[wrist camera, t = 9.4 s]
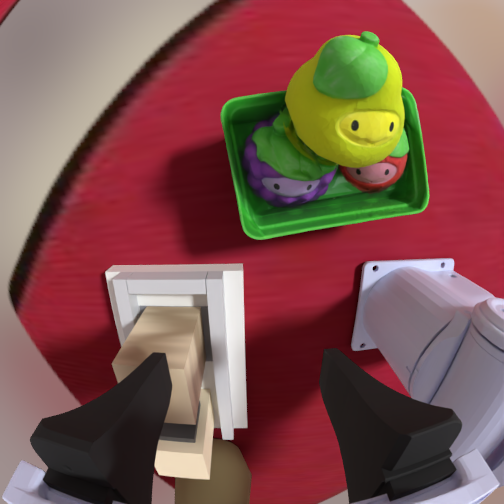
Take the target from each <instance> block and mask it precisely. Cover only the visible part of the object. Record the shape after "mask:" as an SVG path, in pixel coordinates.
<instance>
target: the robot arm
mask: <svg viewBox="0 0 504 504" xmlns="http://www.w3.org/2000/svg"><path fill="white" fill-rule="evenodd" d="M442 263H443V264H442ZM441 264H442V266H441ZM374 266H376V269H375V270H373V267H374ZM453 268H454V260H453V259H451V258H439V259H415V260H390V261H368V262H366V263H364V265H363V267H362V275H361V283H360V291H359V299H358V306H357V312H356V319H355V325H354V331H353V337H352V342H351V347H352V349H353V350H354V351H360V350H367V349H374V348H378V349H379V350H380V352H381V353H382V355H383V356H384V357H385V359H386V360H387V362H388V363H389V365H390V366H391V368H392V369H393V371H394V372H395V374H396V375H397V376H398V378H399V379H400V381H401V382H402V384H403V385H404V387H405V388H406V390H407V391H408V393H409V394H410V396H411V398H410V397H408V396H405V395H403V394H401V393H399V392H396V391H395V390H393V389H391V388H389V387H387V386H385V385H384V384H382V383H381V382H379V381H378V380H376V379H375V378H373V377H372V376H370V375H369V374H368V373H366V372H365V371H364V370H362V369H361V368H360V367H359V366H357V365H356V364H355V363H354V362H353V361H351V360H350V359H349V358H348V357H347V356H345V355H344V354H343V353H342V352H341V351H340V350H338V349H337V348H332V349H324V353H323V360H322V367H321V373H320V380H319V384H320V389H321V393H322V398H323V401H324V404H325V407H326V409H327V412H328V415H329V417H330V420H331V423H332V425H333V428H334V431H335V433H336V436H337V439H338V442H339V447H340V451H341V455H342V460H343V465H344V470H345V476H346V482H347V488H348V496H349V504H479V503H481V502H482V501H483V500H484V499H485V498H486V497H487V496H488V495H490V494H491V493H492V492H493V491H494V490H495V489H496V488H498V487H501V486H504V299H501V298H495V297H494V296H493V295H492V294H491V293H489V292H488V291H486V290H485V289H483V288H481V287H480V286H478V285H476V284H475V283H473V282H471V281H470V280H468V279H466V278H465V277H463V276H461V275H460V274H458V273H456V272H454V271H453ZM363 343H364V344H363ZM361 344H363V345H362V346H360V345H361ZM172 386H173V385H172V381H171V376H170V372H169V367H168V362H167V357H166V353H159V352H153V353H152V354H151V355H149V356H148V357H147V358H146V359H145V360H144V361H143V362H142V363H141V364H140V365H139V366H138V367H137V368H136V369H135V370H134V371H132V372H131V373H130V374H129V375H128V376H127V377H126V378H124V379H123V380H122V381H121V382H119V383H118V384H117V385H116V386H114V387H113V388H112V389H110V390H109V391H107V392H106V393H104V394H103V395H101V396H100V397H98V398H96V399H94V400H92V401H91V402H89V403H87V404H85V405H83V406H81V407H78V408H76V409H74V410H71V411H69V412H65V413H63V414H59V415H56V416H52V417H48V418H44V419H42V420H41V422H40V423H39V425H38V426H37V428H36V430H35V431H34V433H33V434H32V436H31V438H30V442H31V445H32V447H33V449H34V450H35V452H36V453H37V454H38V455H39V457H40V458H41V459H42V460H43V462H44V463H45V464H46V465H47V466H48V470H47V472H45V471H43V470H42V469H40V468H38V467H36V466H34V465H32V464H29V463H28V462H26V461H23V460H21V461H20V463H19V465H18V467H17V469H16V471H15V472H14V474H13V476H12V478H11V480H10V482H9V484H8V486H7V488H6V490H5V492H4V494H3V496H2V498H3V499H4V500H5V501H6V502H7V503H8V504H151V501H152V483H153V474H154V465H155V458H156V451H157V446H158V441H159V438H160V434H161V431H162V428H163V424H164V421H165V418H166V415H167V411H168V408H169V404H170V399H171V393H172Z"/></svg>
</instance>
